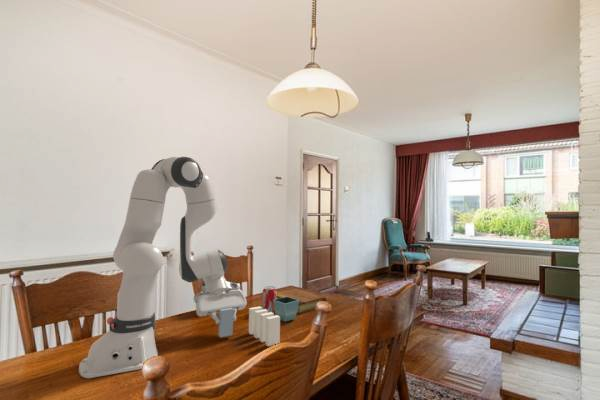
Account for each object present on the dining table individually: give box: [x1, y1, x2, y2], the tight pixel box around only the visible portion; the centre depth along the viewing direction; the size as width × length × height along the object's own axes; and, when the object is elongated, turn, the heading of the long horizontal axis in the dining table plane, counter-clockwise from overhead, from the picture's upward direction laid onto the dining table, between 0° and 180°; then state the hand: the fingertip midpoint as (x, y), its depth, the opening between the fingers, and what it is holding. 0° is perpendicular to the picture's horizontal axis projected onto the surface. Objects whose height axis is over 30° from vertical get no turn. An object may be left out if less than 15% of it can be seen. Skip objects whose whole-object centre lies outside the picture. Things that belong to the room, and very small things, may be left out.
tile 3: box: [259, 312, 275, 343], centre depth 124 cm, size 5×2×10 cm, turn 126°
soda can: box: [261, 285, 277, 313], centre depth 158 cm, size 7×7×12 cm
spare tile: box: [218, 308, 234, 338], centre depth 125 cm, size 5×2×10 cm, turn 127°
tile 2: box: [253, 309, 268, 339], centre depth 128 cm, size 5×2×10 cm, turn 126°
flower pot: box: [273, 297, 299, 323], centre depth 148 cm, size 9×9×9 cm
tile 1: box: [248, 305, 262, 336], centre depth 132 cm, size 5×2×10 cm, turn 126°
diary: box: [277, 288, 327, 315], centre depth 170 cm, size 23×19×6 cm
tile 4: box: [265, 314, 281, 347], centre depth 121 cm, size 5×2×10 cm, turn 126°
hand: (226, 321), depth 125 cm, fingers closed on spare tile, 5 cm apart
